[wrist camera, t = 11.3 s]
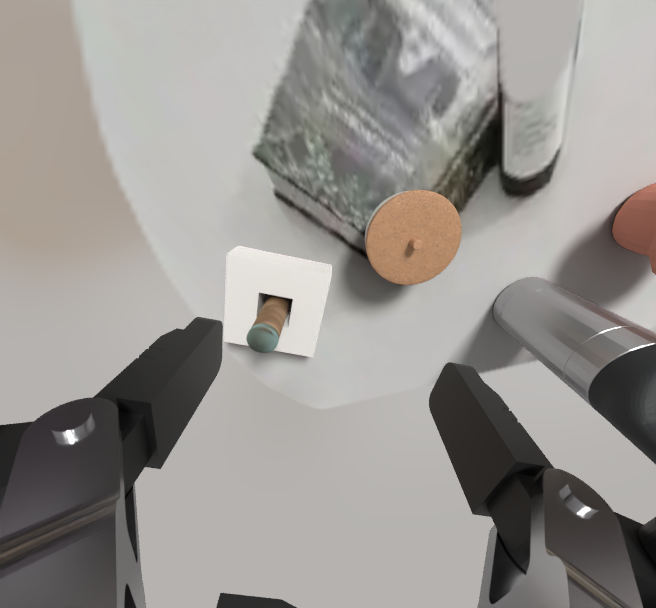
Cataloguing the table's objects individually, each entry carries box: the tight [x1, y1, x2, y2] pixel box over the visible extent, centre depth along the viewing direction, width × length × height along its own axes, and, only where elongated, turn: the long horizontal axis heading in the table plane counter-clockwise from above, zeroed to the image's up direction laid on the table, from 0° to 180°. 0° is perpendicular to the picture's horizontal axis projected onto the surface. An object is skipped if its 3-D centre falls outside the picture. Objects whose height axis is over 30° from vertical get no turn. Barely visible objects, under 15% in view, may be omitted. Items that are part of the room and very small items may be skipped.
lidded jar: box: [365, 190, 462, 285], centre depth 32 cm, size 11×11×9 cm
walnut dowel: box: [246, 294, 292, 353], centre depth 36 cm, size 4×4×12 cm
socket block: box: [224, 246, 332, 357], centre depth 39 cm, size 14×14×4 cm
